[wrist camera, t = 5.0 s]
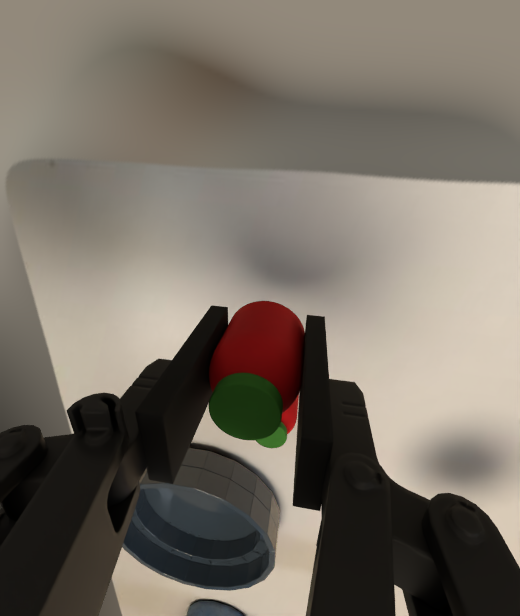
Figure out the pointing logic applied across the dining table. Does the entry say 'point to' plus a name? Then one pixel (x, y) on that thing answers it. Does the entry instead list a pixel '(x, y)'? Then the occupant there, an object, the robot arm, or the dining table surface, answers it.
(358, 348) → the dining table surface
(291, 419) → the strawberry
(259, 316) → the strawberry
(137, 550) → the bowl
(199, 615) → the bottle
